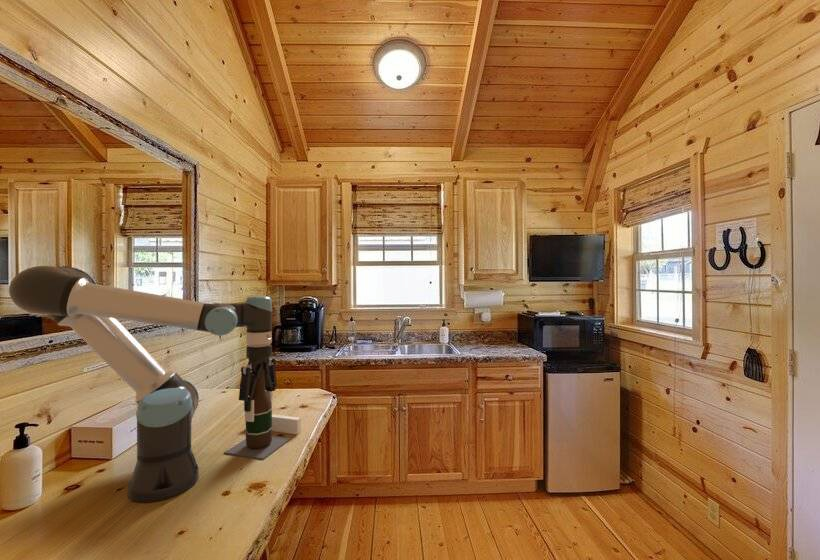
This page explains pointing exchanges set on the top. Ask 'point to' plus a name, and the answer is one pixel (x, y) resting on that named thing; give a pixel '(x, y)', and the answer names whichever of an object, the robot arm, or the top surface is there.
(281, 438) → the mat
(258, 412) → the beer bottle
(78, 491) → the top surface
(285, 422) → the wall
